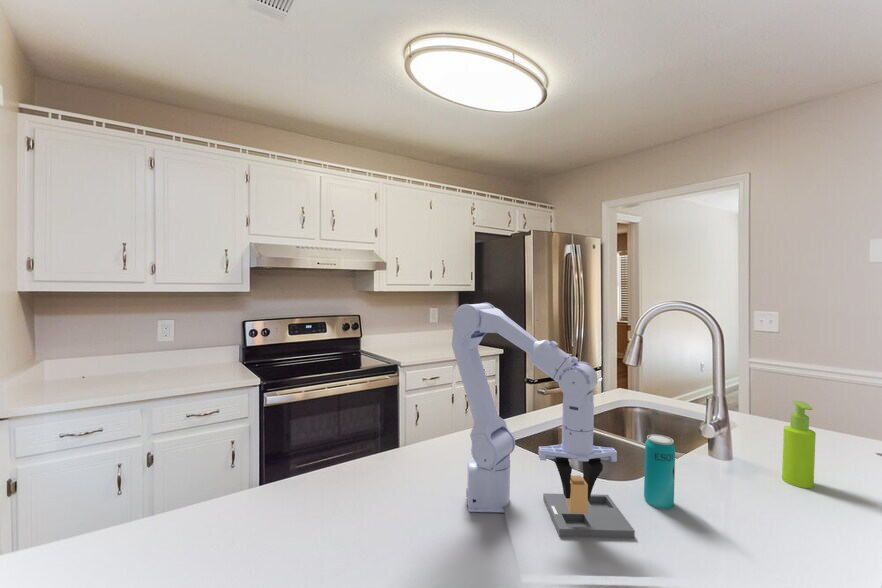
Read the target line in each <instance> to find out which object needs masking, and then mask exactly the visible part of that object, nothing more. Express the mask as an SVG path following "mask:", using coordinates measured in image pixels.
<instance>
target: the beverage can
mask: <svg viewBox="0 0 882 588" xmlns="http://www.w3.org/2000/svg"><path fill="white" fill-rule="evenodd" d="M674 443H675V441H674V439H673V438H671V437H670V436H667V435H663V434H658V433H657V434H655V433H654V434H653V433H652V434H648V435H647V436H646V441H645V443H644V447H645V448H644V478H643V480H644V483H643V484H644V485H643V486H644V487H643V497H644V500H645V502H646V503H647V504H648V505H650V506H652V507H654V508H657V509H660V510H661V509H662V510H667V509H668V510H669V509H671V508H673V506H674V503H675V472H676V470H675V469H676V446H675V444H674Z"/></svg>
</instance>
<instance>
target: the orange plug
mask: <svg viewBox="0 0 882 588" xmlns="http://www.w3.org/2000/svg"><path fill="white" fill-rule="evenodd" d="M566 506H567V508H568V509H569V511H570V513H582V514H587V509H588V484H587V483H586V482H585V480H584V479H583V477H582V476H581V475H571V479H570V498H566Z"/></svg>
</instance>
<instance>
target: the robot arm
mask: <svg viewBox="0 0 882 588" xmlns="http://www.w3.org/2000/svg"><path fill="white" fill-rule="evenodd" d="M450 321H451V325H452V336H451V337H452V340H451V347H452V351H453V354H454V357H455V361H456V364H457V367H458V371H459V374H460V379H461V382H462V386H463V388H464V391H465V394H466V399H467V402H468V406H469V409H470V412H471V416H472V419H473V425H472V428H471V431H470V440H471V449H470V451H471V456H472V458H473V460H474V461H468V462H467V483H466V484H467V486H466V487H465V488H466V489H465V493H466V495H465V496H466V498H467V506H468V512H469V513H506V510H505V507H506V506H508V505H509V504H510V501H511V500H510V499H511V498H510V497H511V496H510V491H511V489H510V488H511V460H510V459H511V454H512V453H513V452H514V450H515V448H516V439H515V437H514V434H513V432H511V430H510V429H509V427H508V425H507V422H506V420H505V419H503V418H502V417H501V416H499V414H498V411H497V408H496V406H495V402H494V398H493V395H492V392H491V388H490V385H489V382H488V378H487V375H486V372H485V368H484V365H483V362H482V359H481V355H480V352H479V345H480V343H481V342H482V340H483V339H484V337H485V335H486V334H488V333H490V334H499V336H501V337H503V338H504V339H505V340H507V341H509V342H510V343H511V344H513V345H515V346H516V347H517V348H520V349H521V350H522V351H524V352H525V353H526V354H528V358H529V362H530V363H531V364H532V365H533V366H535V367H536V368H538V370H540V371H542V372H543V373H544V374H546V375H547V376H548V377H549V378H551V379H552V380H554V381H555V382H556V383H558V387H559V389H560V391H561V392H562V419H561V420H562V421H561V423H562V426H561V443H560V444H554V445H547V446H538V458H539V460H540V461H547V460H553V462H554V463H555V466H556V469H557V471H558V473H559V474H558V475H559V476H560V480H561V486H562V491H563V493H562V494H564V495H565V497H566V498H570V479H571V476H572V473H573V472H572V470H573V468H572V466H571V465H570V464H571V462H570V461H569V460H577V461H578V462H581V463H582V476H583V479H584V480H585V482H586V483H587V484H588V499H590V496H591V494H592V491H593V488H594V486H595V483H596V480H597V479H598V478H599V476H600V474H601V473H602V471H603V469H604V465H603V463H602V461H610V462H614V463H615V462H618V451H617V450H616V449H615V448H614V447H605V446H598V445H594V420H595V419H594V416H595V415H594V414H595V411H594V409H595V404H594V391H593V389H595V387H596V385H597V384H598V374H597V372H596V370H595V368H593V366H591V364H590V363H589V362H586V361H579V358H578V357H576V356H571V355H570V354H568V353H567V352H566V351H564V350H563V349H561V348H559V346H558V345H559V343H558V342H557V341H555V340H552V341H550V340H548V339H542V340H538V339H536V338H535V337H534V336H533V335H531V333H529V332H528V331H527V330H525V329H524V328H523V327H521V326H520V325H519V324H517V323H516V322H515V321H514V320H512V318H510V317H509V316H508V315H507V314H505V313H504V311H502V310H501V309H499V308H497V307H495V306H494V305H493V304H491V303H490V302H481V303H473V304H469V303H464V304H461V305H459V306H458V307H457V308H456V310H455V311H454V313H453V315H452V317H451V318H450Z"/></svg>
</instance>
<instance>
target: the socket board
mask: <svg viewBox="0 0 882 588" xmlns="http://www.w3.org/2000/svg"><path fill="white" fill-rule="evenodd" d="M542 497H543V499H542V500H543V503H544V505H545V507H546V509H547V512H548V514H549V517H550V519H551V521H552V524H553V526H554V529H555V530H556V532H557V535H558V537H559V538H561V537H562V538H599V539H601V538H602V539H603V538H605V539H608V538H609V539H635V536H636V535H635V534H636V531H635V529H634V527H632V525H631V524H630V523H629V521H628V520H627V519H626V517H625V516H624V514H623V513H622V512H621V510H620V509H619V508H618V506H617V505H616V504H615V503H614V501H613V500H612V498H611V497H610V495H609V494H597V493H596V494H593V493H591V496H590V499H588V509H587V514H582V513H570V511H569V509H568V508H567V506H566V497H565V495H564V493H543V496H542Z"/></svg>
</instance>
